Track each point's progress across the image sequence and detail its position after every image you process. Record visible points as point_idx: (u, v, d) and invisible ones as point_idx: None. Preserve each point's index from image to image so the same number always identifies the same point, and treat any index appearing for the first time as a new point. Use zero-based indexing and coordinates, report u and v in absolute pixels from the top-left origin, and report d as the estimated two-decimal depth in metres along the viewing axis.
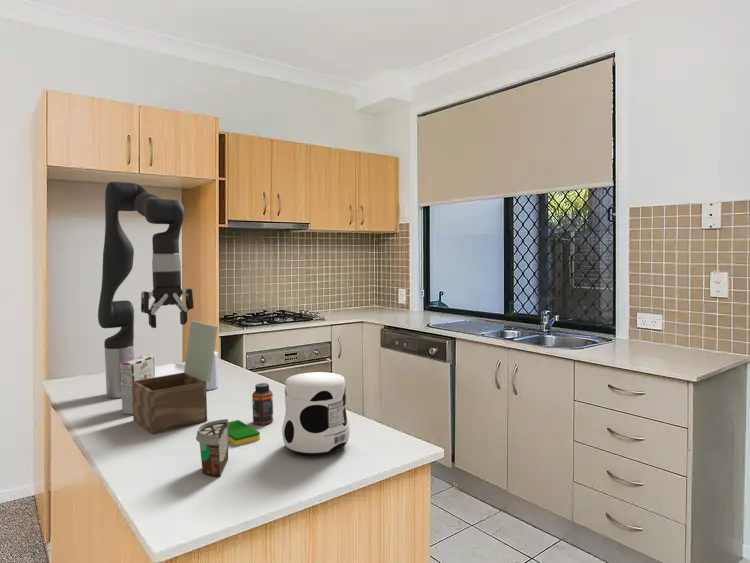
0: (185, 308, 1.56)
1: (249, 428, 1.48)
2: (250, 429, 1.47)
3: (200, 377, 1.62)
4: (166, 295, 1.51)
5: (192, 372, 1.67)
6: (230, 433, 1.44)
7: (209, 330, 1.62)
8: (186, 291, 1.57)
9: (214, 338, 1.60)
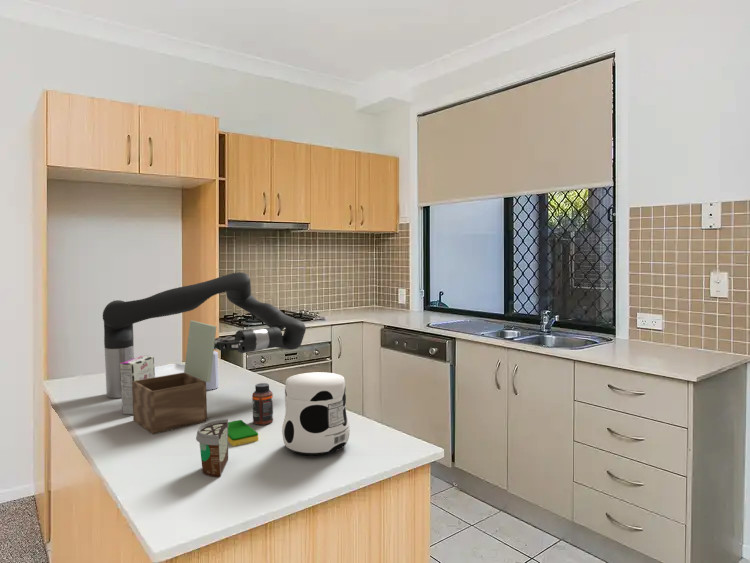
0: None
1: (249, 428, 1.48)
2: (249, 429, 1.47)
3: (200, 377, 1.62)
4: None
5: (192, 372, 1.67)
6: (229, 433, 1.44)
7: (208, 330, 1.62)
8: None
9: (213, 338, 1.60)
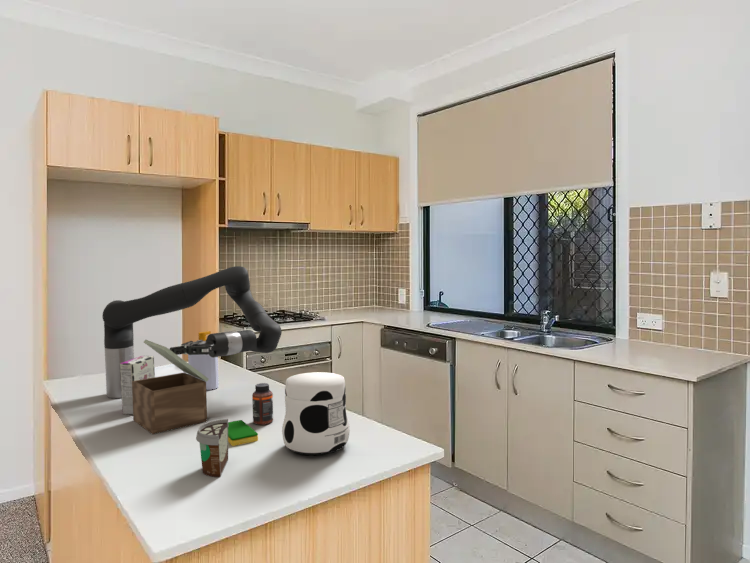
0: None
1: (249, 428, 1.48)
2: (249, 430, 1.47)
3: (199, 378, 1.62)
4: None
5: (189, 373, 1.66)
6: (229, 433, 1.44)
7: (164, 351, 1.53)
8: None
9: (174, 355, 1.52)
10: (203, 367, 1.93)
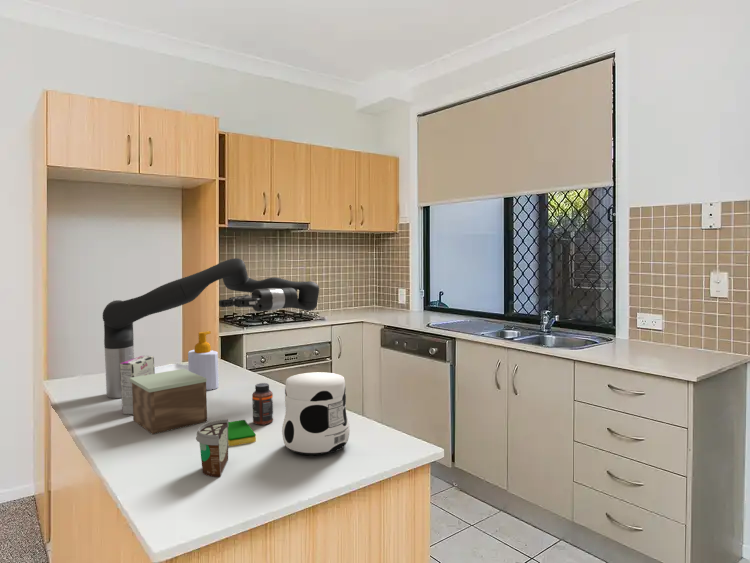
0: None
1: (248, 429, 1.47)
2: (248, 430, 1.46)
3: None
4: (251, 307, 1.76)
5: None
6: None
7: None
8: None
9: (162, 388, 1.50)
10: (203, 367, 1.93)
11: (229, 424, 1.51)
